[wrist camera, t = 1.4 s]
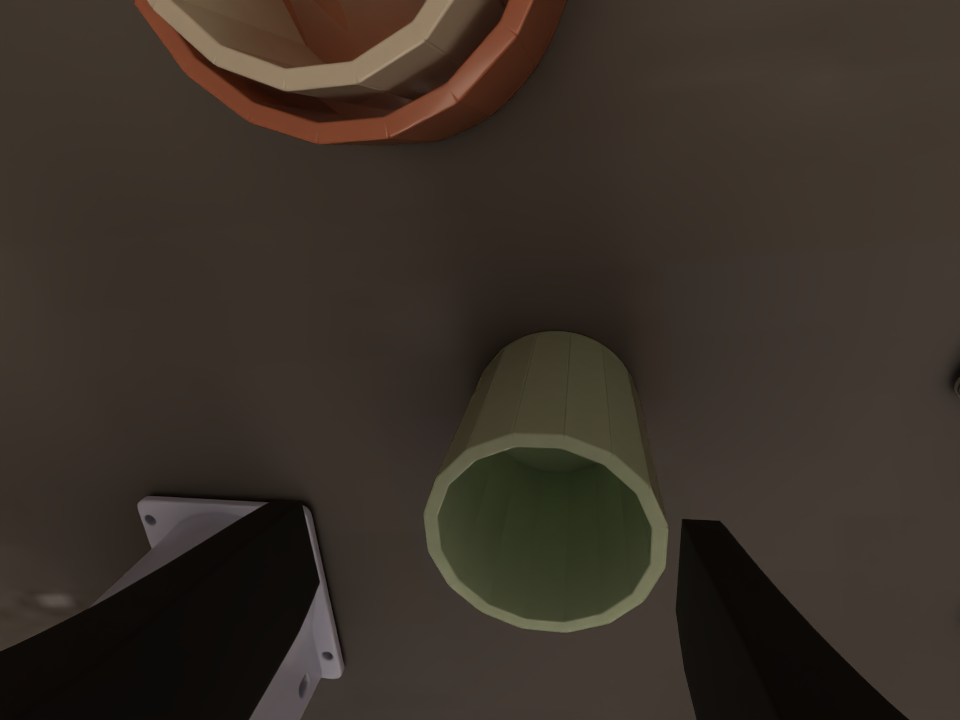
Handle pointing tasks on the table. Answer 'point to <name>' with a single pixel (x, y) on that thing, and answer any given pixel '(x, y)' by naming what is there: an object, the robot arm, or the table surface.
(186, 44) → the stack base cup
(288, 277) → the table surface
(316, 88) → the stack top cup
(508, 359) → the sage cup
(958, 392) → the strap clip
